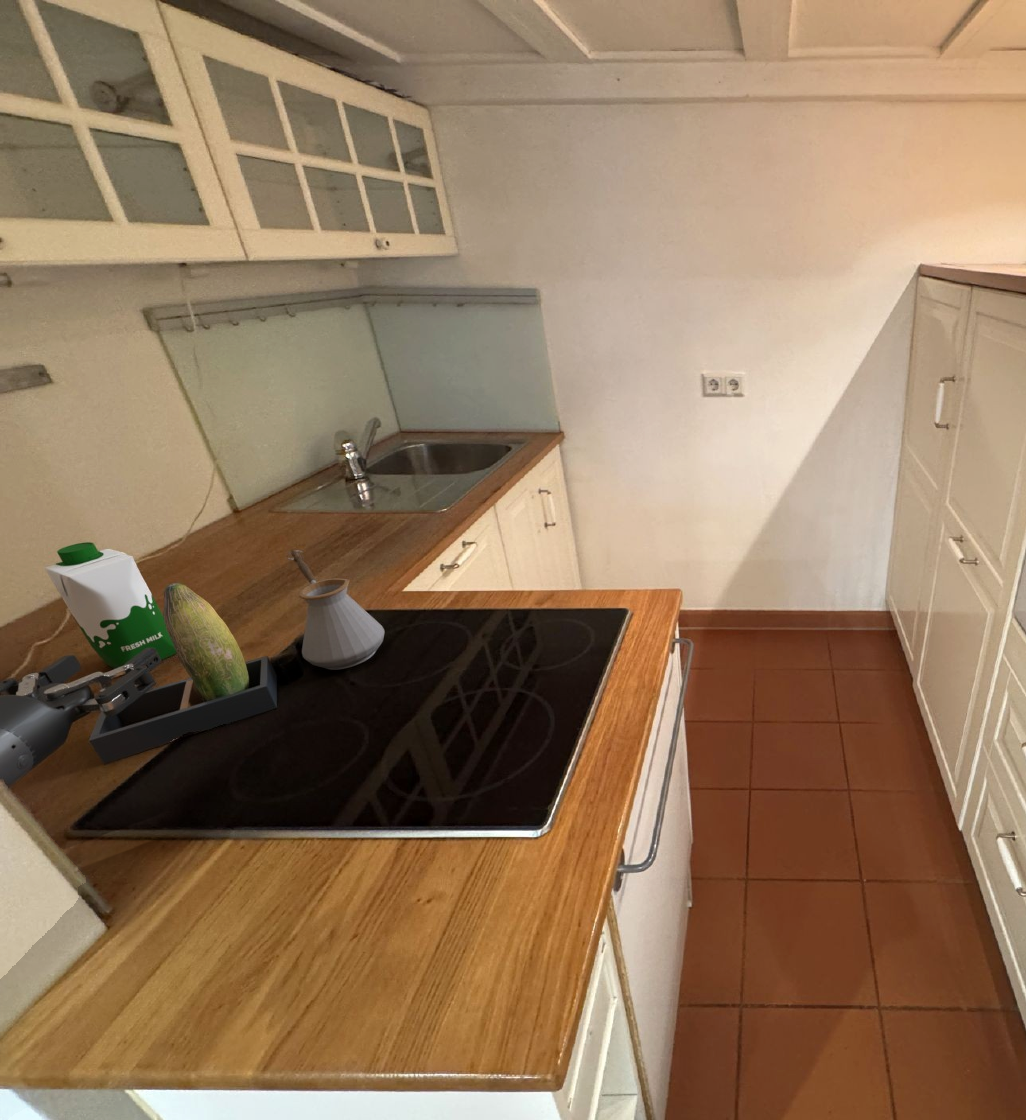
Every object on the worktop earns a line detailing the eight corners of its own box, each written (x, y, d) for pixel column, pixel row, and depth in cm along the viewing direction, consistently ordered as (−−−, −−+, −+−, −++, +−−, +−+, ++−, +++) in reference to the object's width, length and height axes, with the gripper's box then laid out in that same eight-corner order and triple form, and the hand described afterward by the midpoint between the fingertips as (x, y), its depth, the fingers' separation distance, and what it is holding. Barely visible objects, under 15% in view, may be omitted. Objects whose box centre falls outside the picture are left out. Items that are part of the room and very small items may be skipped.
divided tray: (103, 764, 79) (88, 740, 77) (118, 724, 86) (104, 702, 85) (276, 708, 89) (266, 685, 87) (277, 676, 96) (267, 655, 94)
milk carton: (161, 639, 107) (105, 534, 98) (189, 650, 103) (133, 543, 94) (96, 666, 99) (28, 556, 91) (123, 679, 96) (56, 566, 87)
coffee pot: (400, 653, 101) (372, 572, 94) (320, 686, 93) (283, 601, 87) (357, 611, 114) (330, 537, 107) (284, 637, 106) (250, 560, 100)
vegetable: (268, 687, 93) (213, 571, 84) (254, 712, 88) (194, 591, 79) (220, 697, 91) (159, 579, 83) (202, 723, 86) (135, 600, 77)
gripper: (44, 715, 57) (167, 624, 72) (-133, 733, 56) (29, 637, 70) (85, 774, 61) (194, 676, 75) (-82, 793, 59) (64, 689, 73)
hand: (115, 657), depth 73 cm, fingers open, 8 cm apart
